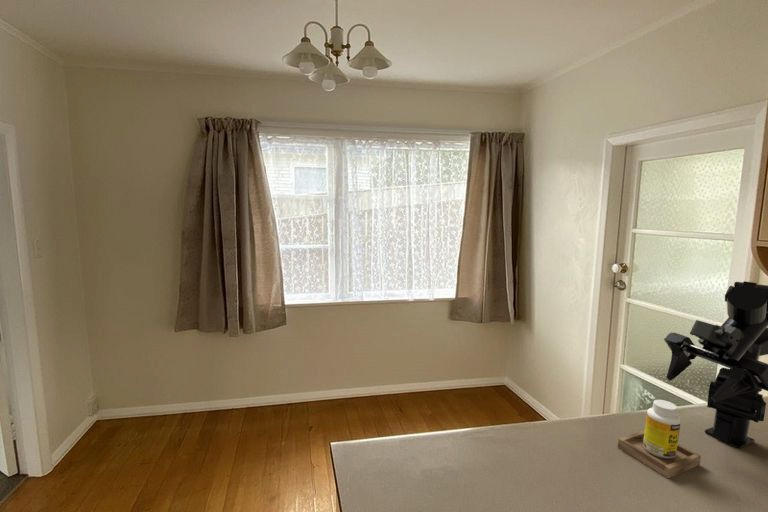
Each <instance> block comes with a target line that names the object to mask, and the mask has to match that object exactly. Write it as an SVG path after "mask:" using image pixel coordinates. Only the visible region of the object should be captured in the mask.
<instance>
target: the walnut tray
mask: <svg viewBox="0 0 768 512" xmlns="http://www.w3.org/2000/svg"><path fill="white" fill-rule="evenodd" d="M644 432H645V429H644V430H641V431H638V432H635V433H632V434H628V435H626V436H625V435H624V436H622V437H619V438H618V442H617V443H618V444H617V448H618V449H619V450H621V451H622V452H623V453H626V454H628V455H630V456H631V457H633V458H634V459H636V460H638V461H639V462H641V463H643V464H644V465H645V466H647V467H649V468H651V469H652V470H654V471H655V472H657V473H659V474H660V475H662V476H664V477H665V478H667V479H671V478H673V477H675V476H678V475H679V474H682V473H685V472H687V471H690V470H691V469H694V468H696V467H698V466H700V463H701V459H702V455H700V454H699V453H696V452H695V451H693V450H691V449H690V448H687V447H685V446H683V445H681V444H679V443H678V445H677V451H676V456H675V457H674V458H671V459H665V458H660V457H657V456H655V455H653V454H651V453H649V452H648V451H647V450H646V449H645V448H644V446H643V440H644Z"/></svg>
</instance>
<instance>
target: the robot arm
mask: <svg viewBox="0 0 768 512" xmlns="http://www.w3.org/2000/svg"><path fill="white" fill-rule="evenodd" d="M724 302H725V303H726V306H727V307H726V310H727V313H726V314H727V316H728V317H727V319H726V320H725V321H724V322H723V323H722V324H721V325H718V324H716V325H715V324H713V323H708V322H706V321H705V322H704V321H702V320H697V319H696V320H694V321H695V322H694V324H693V326H692V327H691V329H690V332H689V334H690V335H691V336H695V337H697V338H698V339H697V341H698V343H699V344H700V345H701V346H702V347H700V346H697V345H695V344H694V342H693V341H692V339H691V337H688V336H686V335H683V334H680V333H677V332H669V333H668V334H667V335H666V336H665V338H664V339H663V340H664V342H665V343H666V345H667V346H668V349H670V351H671V359H670V364H669V367H668V371H667V374H666V379H667V381H669V382H671V381H672V380H674V379H675V378H677V377H678V376H679V375H680V374H681V373H683V372H684V371H685V370H686V369H687V368H689V366H691V365H692V363H693V362H692V361H693V360H695V359H696V357H698V358H701V359H705V360H707V361H709V362H712V363H714V364H718V365H721V366H723V367H721V368H720V369H719V371H718V373H717V376H716V377H715V379H714V380H711V381H710V383H709V386H708V387H709V388H708V394H707V406H706V407H707V408H709V409H710V408H711V409H714V410H715V413H714V420H713V426H712V427H709V428H707V429H705V430H704V433H705V434H707V435H710V436H711V437H714V438H715V439H718V440H720V441H722V442H724V443H726V444H728V445H730V446H733V447H735V448H737V449H742V448H744V447H746V446H749V445H750V444H751V445H752V444H753V443H755V441H756V440H755V439H754V438H751V437H749V429H750V425H751V424H750V423H751V421H752V422H754V423H759V422H764V420H765V414H766V408H767V403H766V401H765V399H764V394H761V393H760V392H762V391H763V390H764V391H767V392H768V363H766V362H763V361H761V360H759V359H760V357H762V356H767V355H768V285H767V284H758V283H757V282H754V281H753V282H752V281H745V280H744V281H735V282H734V284H733V286H732V285H729V286H728V288H727V290H726V292H725V294H724ZM691 360H692V361H691Z"/></svg>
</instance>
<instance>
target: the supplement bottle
mask: <svg viewBox="0 0 768 512" xmlns="http://www.w3.org/2000/svg"><path fill="white" fill-rule="evenodd" d="M678 409H679V408H678V406H677V405H676V403H673V402H670V401H668V400H664V399H654V400H653V404H652V407H650V408H648V409H647V411H646V417H645V427H644V430H645V432H644V440H643V446H644V448H645V449H646V450H647V451H648V452H649V453H651V454H653V455H655V456H657V457H660V458H665V459H671V458H674V457H675V456H676V451H677V445H678V444H679V437H680V431H681V424H682V419H681V417H680V416H679V415H678Z"/></svg>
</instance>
